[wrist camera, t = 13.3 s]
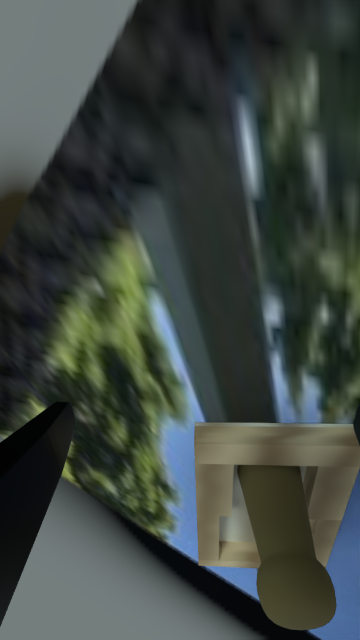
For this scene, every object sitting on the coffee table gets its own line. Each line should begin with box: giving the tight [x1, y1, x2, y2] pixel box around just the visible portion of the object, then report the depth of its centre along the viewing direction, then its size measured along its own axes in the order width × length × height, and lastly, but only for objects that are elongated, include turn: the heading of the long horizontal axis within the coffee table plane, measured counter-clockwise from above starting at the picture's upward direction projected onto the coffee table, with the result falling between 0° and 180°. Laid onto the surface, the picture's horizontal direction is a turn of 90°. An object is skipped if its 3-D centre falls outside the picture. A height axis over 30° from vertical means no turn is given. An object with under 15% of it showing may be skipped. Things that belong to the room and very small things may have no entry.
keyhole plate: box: [194, 422, 360, 568], centre depth 30 cm, size 14×20×2 cm
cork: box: [237, 465, 336, 630], centre depth 24 cm, size 6×6×11 cm
